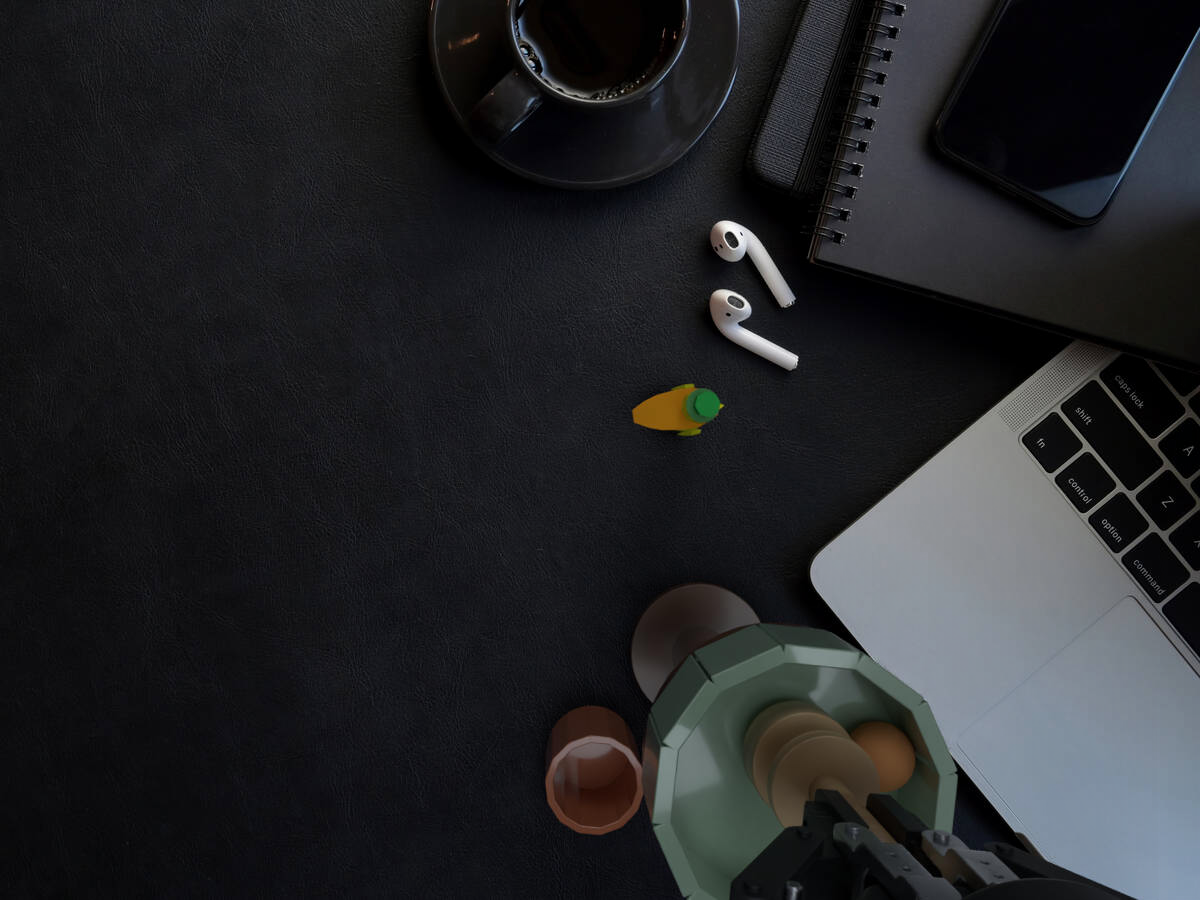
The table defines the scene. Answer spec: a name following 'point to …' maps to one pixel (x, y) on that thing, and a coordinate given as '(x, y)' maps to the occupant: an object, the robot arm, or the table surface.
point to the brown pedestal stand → (683, 631)
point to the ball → (887, 752)
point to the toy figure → (679, 410)
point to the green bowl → (718, 728)
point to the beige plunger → (807, 763)
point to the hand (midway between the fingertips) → (849, 818)
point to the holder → (593, 771)
